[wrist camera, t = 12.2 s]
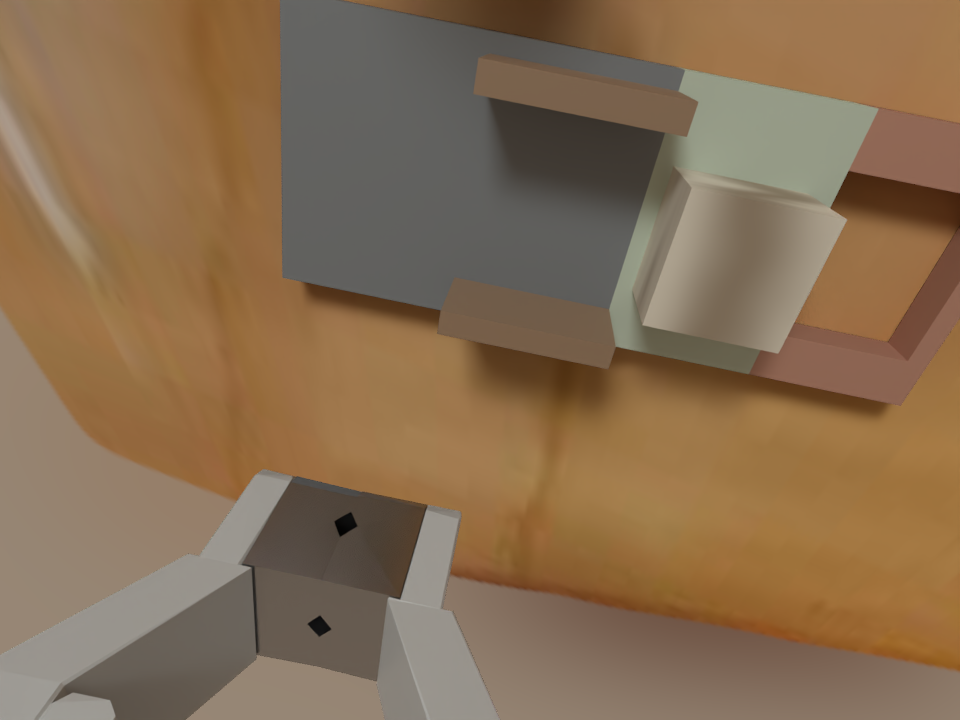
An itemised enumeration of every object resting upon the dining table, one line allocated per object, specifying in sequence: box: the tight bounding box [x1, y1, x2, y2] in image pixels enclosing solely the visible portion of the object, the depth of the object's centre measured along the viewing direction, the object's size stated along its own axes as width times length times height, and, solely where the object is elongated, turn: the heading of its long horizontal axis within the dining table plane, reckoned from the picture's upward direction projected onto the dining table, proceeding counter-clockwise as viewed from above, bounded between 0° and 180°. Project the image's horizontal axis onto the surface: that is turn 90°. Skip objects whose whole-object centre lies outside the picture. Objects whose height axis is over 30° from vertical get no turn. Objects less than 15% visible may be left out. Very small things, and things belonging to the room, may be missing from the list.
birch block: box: [632, 166, 847, 354], centre depth 25 cm, size 6×6×4 cm
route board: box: [280, 0, 960, 406], centre depth 26 cm, size 33×13×6 cm, turn 80°
